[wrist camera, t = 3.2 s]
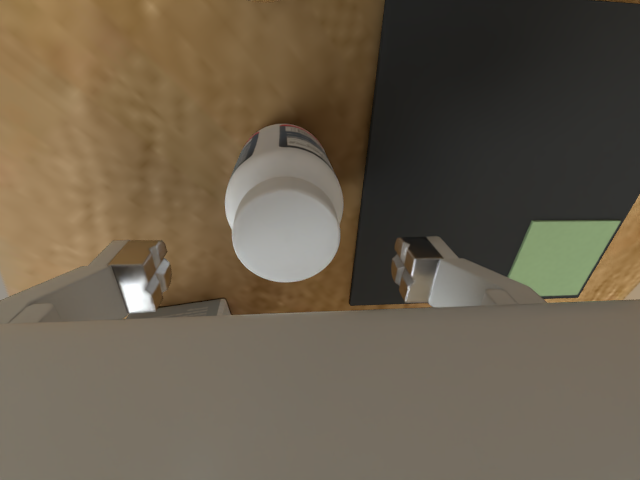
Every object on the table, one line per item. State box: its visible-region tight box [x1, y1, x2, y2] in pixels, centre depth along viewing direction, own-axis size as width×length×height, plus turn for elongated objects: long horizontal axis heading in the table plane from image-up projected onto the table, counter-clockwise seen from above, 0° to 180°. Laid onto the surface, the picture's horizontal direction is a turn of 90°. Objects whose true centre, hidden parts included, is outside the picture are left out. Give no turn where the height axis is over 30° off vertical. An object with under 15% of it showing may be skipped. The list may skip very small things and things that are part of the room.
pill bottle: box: [225, 124, 343, 282], centre depth 15 cm, size 5×5×9 cm
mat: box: [349, 0, 640, 306], centre depth 21 cm, size 20×20×1 cm
